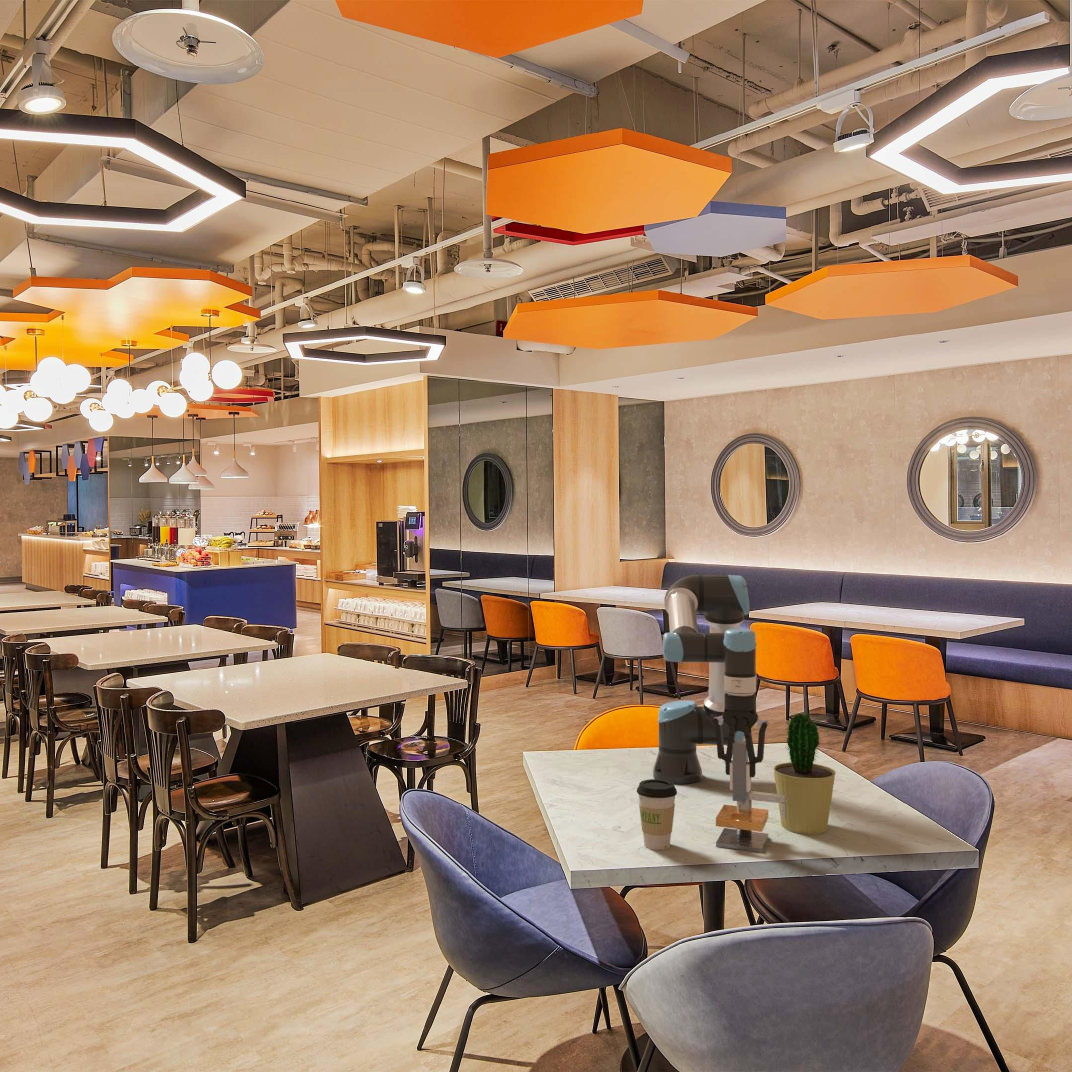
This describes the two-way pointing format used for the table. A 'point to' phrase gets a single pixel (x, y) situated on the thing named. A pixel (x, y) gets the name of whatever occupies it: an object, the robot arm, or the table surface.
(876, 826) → the table surface
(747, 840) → the tiered post stand
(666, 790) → the coffee cup
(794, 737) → the potted cactus
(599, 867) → the table surface
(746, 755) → the gray rectangular bar
